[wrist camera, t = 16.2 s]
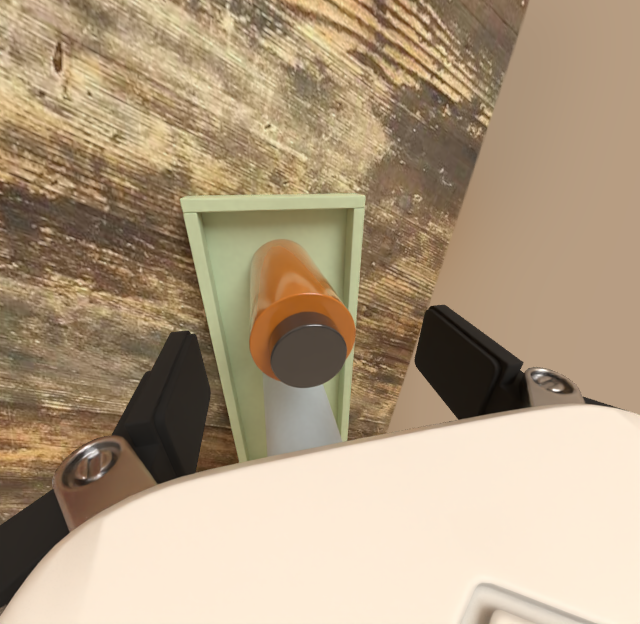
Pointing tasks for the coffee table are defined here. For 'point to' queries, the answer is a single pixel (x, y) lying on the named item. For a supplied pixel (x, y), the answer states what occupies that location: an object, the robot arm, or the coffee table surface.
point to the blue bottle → (297, 418)
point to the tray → (234, 286)
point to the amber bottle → (296, 317)
